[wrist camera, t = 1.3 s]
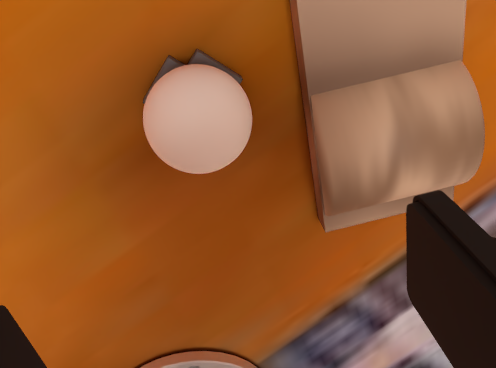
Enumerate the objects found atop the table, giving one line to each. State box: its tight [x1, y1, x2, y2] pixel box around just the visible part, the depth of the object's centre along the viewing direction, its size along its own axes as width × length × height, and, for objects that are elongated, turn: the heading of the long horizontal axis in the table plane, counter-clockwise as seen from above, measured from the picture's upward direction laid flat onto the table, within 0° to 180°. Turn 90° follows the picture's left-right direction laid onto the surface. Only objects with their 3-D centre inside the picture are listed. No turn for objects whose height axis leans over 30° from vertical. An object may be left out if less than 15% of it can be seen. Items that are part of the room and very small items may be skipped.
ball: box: [143, 64, 252, 174], centre depth 20 cm, size 5×5×5 cm
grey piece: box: [143, 49, 243, 104], centre depth 22 cm, size 5×5×1 cm
